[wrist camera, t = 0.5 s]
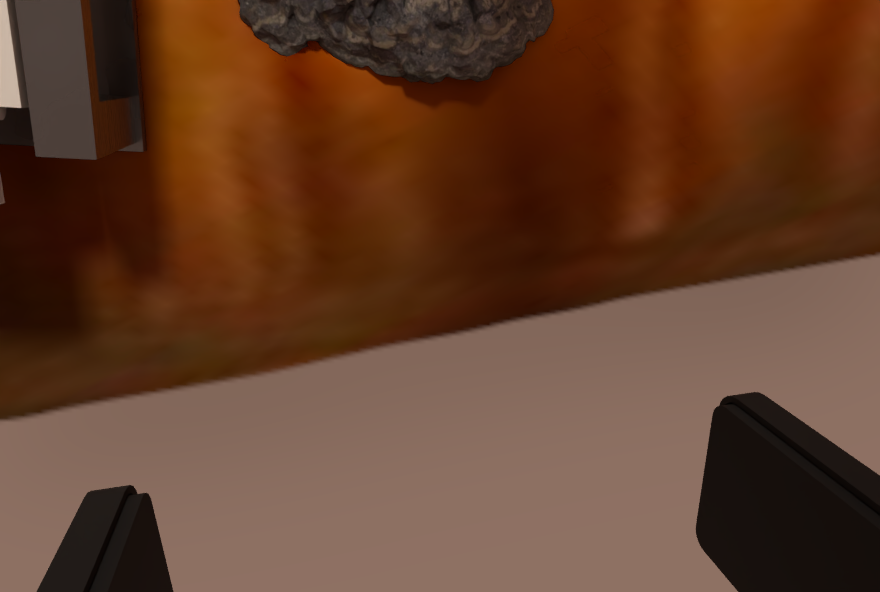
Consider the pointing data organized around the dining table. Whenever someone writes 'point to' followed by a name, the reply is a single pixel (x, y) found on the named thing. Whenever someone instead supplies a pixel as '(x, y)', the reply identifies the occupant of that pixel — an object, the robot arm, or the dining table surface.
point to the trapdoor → (10, 65)
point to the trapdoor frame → (78, 79)
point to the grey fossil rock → (405, 33)
